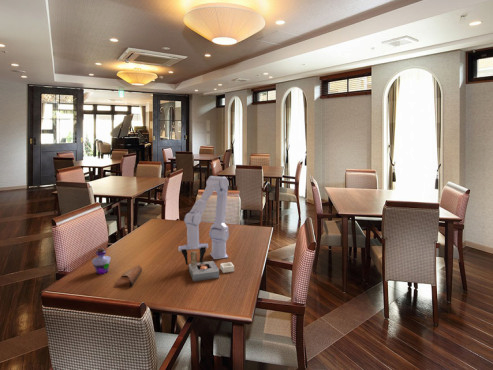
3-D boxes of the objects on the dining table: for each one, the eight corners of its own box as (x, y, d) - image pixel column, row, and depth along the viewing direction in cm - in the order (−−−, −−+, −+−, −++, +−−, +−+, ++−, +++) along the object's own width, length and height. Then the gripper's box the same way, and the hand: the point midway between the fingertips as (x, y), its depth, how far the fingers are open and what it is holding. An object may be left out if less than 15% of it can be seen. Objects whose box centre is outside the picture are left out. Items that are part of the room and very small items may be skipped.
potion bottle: (105, 276, 158) (103, 252, 157) (88, 275, 160) (86, 250, 158) (115, 269, 167) (114, 246, 165) (100, 268, 169) (98, 245, 167)
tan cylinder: (190, 267, 169) (190, 251, 168) (196, 266, 170) (195, 251, 169) (191, 269, 167) (191, 253, 166) (197, 268, 167) (196, 253, 166)
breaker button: (199, 269, 161) (199, 266, 160) (206, 268, 162) (206, 265, 161) (201, 271, 158) (200, 269, 157) (207, 271, 159) (207, 268, 158)
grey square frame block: (189, 271, 164) (189, 263, 163) (213, 268, 167) (213, 260, 167) (193, 281, 152) (193, 273, 152) (219, 277, 156) (219, 269, 156)
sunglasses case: (124, 271, 164) (130, 260, 163) (137, 278, 165) (144, 266, 164) (112, 288, 146) (119, 275, 146) (127, 295, 147) (134, 282, 146)
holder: (220, 268, 167) (220, 263, 167) (231, 267, 169) (231, 262, 169) (223, 272, 162) (223, 267, 162) (234, 271, 164) (234, 266, 163)
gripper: (179, 240, 160) (180, 267, 162) (209, 237, 165) (209, 264, 167) (177, 236, 167) (178, 262, 169) (206, 233, 171) (206, 259, 173)
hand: (193, 263), depth 168 cm, fingers open, 6 cm apart
